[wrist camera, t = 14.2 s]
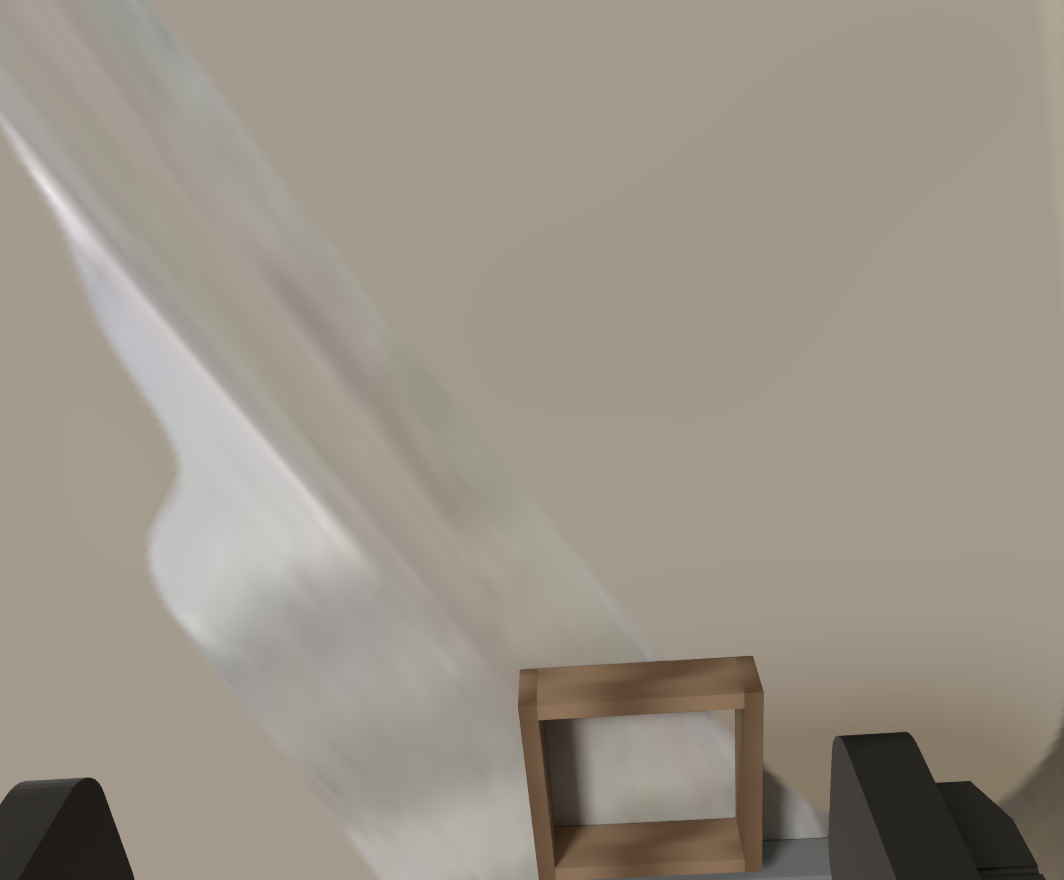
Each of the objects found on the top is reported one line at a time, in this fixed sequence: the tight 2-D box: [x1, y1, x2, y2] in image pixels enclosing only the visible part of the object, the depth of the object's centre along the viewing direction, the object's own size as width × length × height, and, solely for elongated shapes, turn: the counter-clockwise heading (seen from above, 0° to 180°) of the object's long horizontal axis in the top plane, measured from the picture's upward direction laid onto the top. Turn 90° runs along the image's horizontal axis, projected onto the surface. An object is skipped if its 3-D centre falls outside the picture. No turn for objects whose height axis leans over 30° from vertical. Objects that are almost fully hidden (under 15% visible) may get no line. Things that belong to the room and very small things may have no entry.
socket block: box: [518, 656, 764, 880], centre depth 45 cm, size 10×10×2 cm
